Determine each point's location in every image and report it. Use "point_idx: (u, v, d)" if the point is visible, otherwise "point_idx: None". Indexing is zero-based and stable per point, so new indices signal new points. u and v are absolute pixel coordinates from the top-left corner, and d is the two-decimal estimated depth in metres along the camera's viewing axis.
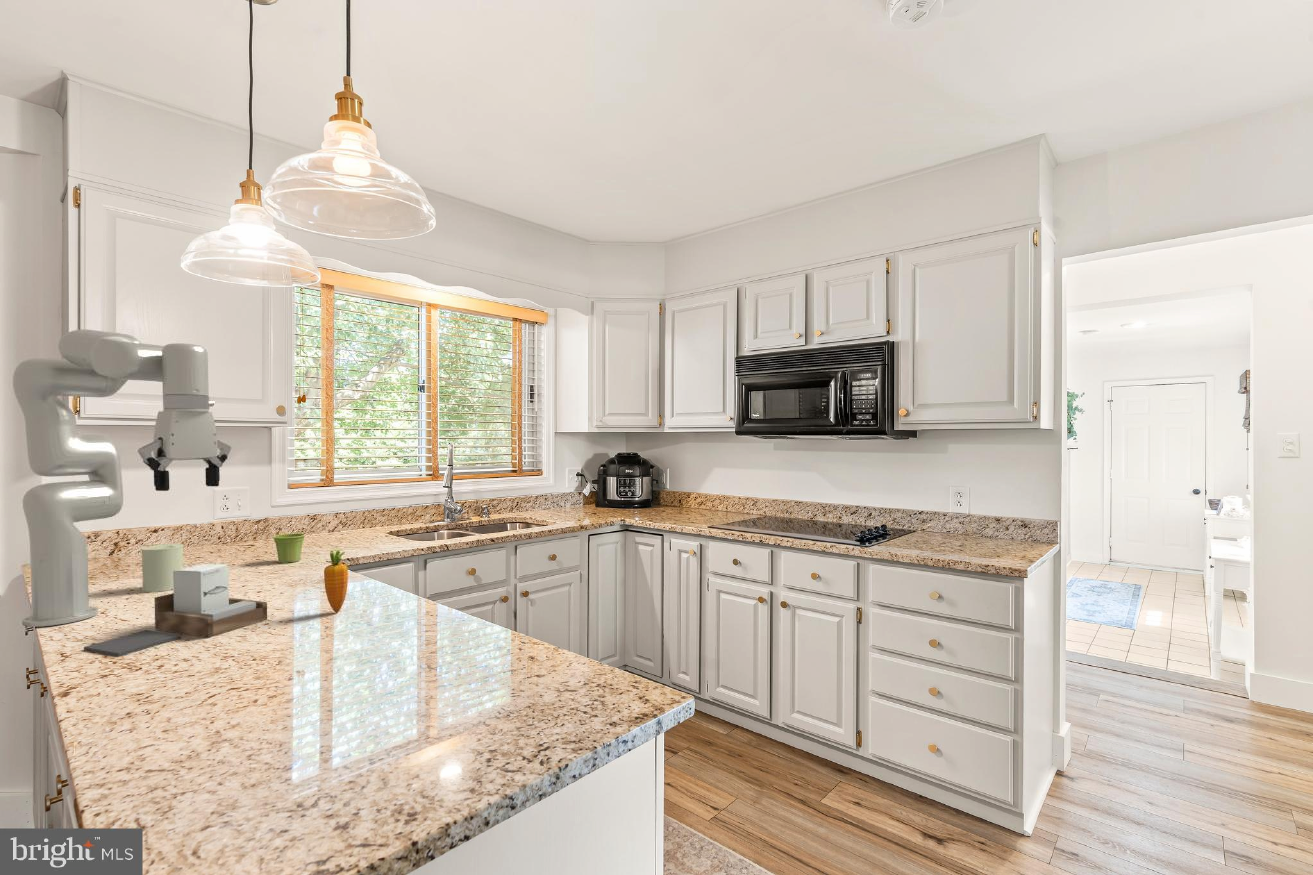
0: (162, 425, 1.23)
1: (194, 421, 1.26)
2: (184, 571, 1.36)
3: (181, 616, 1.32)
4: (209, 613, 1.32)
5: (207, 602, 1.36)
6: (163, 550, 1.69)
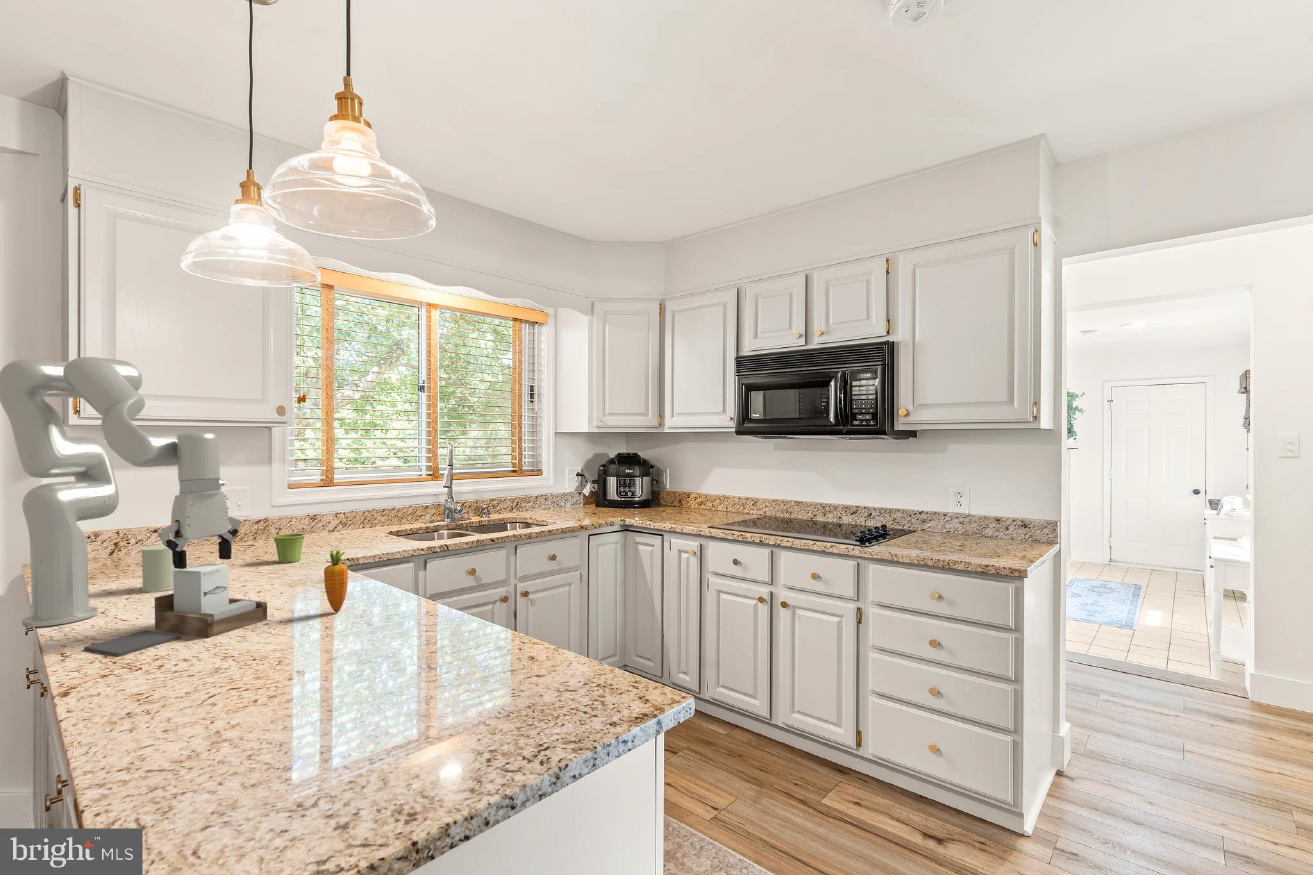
0: (179, 508, 1.34)
1: (207, 502, 1.38)
2: (184, 571, 1.36)
3: (181, 616, 1.32)
4: (210, 612, 1.32)
5: (207, 602, 1.36)
6: (163, 550, 1.69)
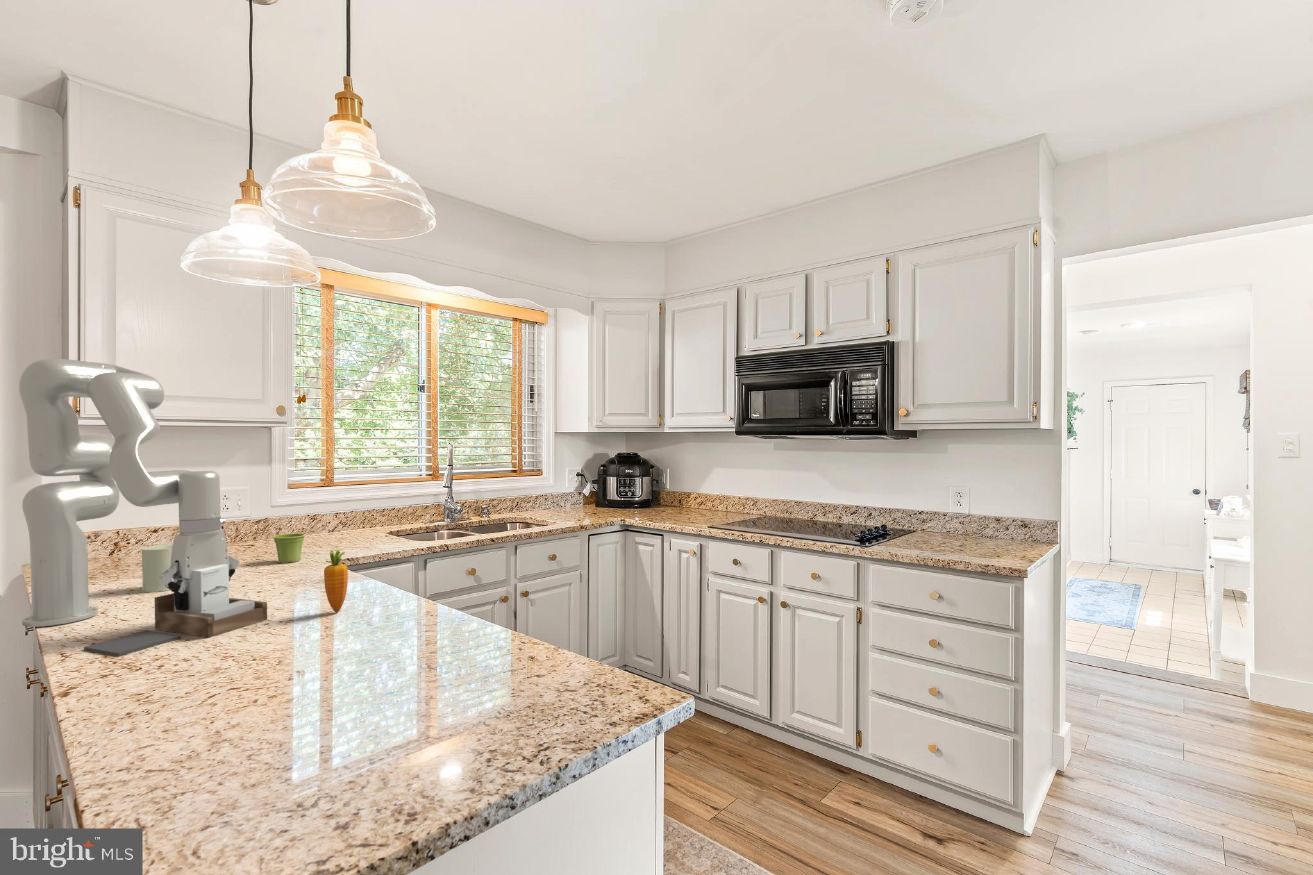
0: (179, 549, 1.34)
1: (207, 542, 1.38)
2: None
3: (181, 616, 1.32)
4: (210, 612, 1.32)
5: (207, 602, 1.36)
6: (163, 550, 1.69)
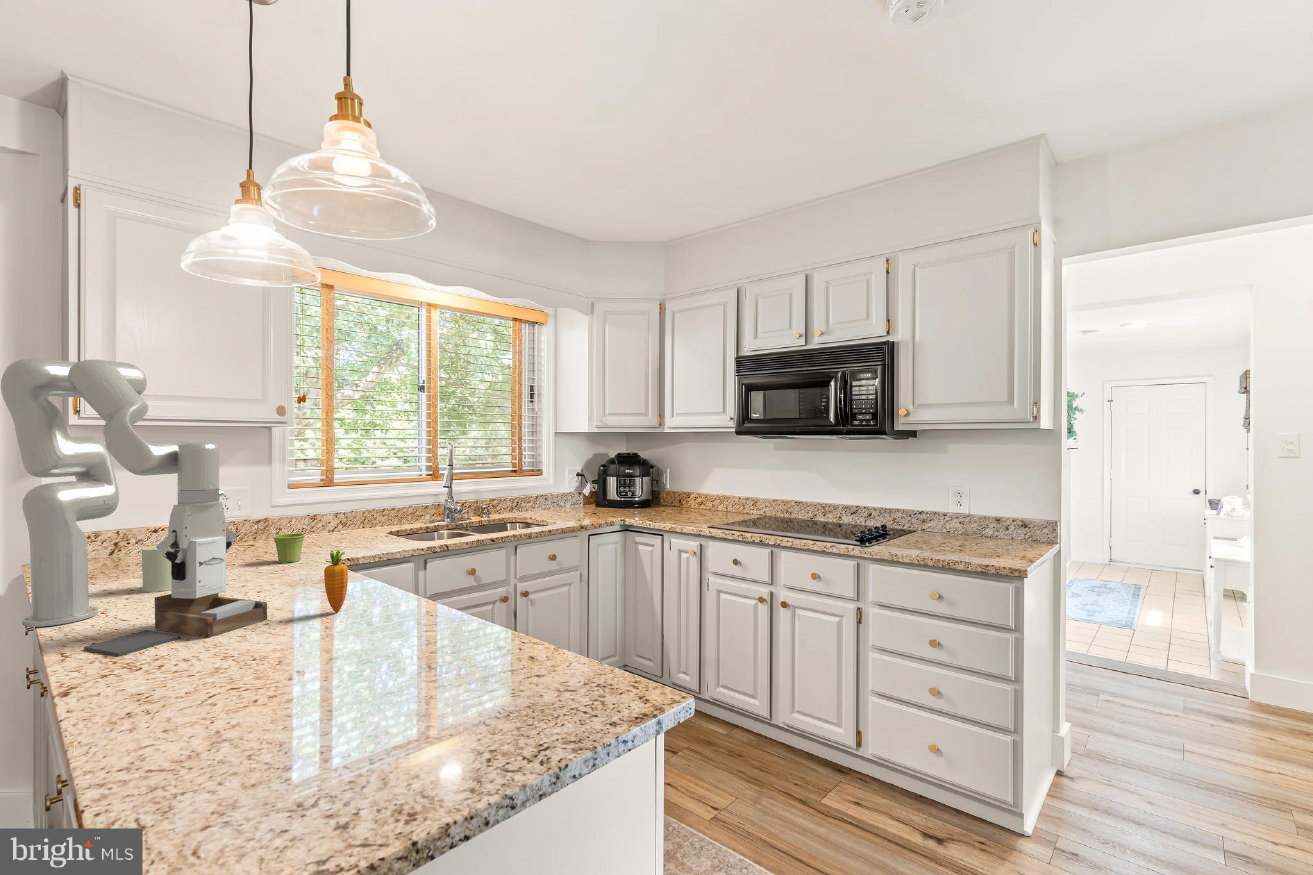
0: (176, 519, 1.34)
1: (205, 513, 1.38)
2: None
3: (181, 616, 1.32)
4: (212, 612, 1.32)
5: (202, 573, 1.36)
6: None
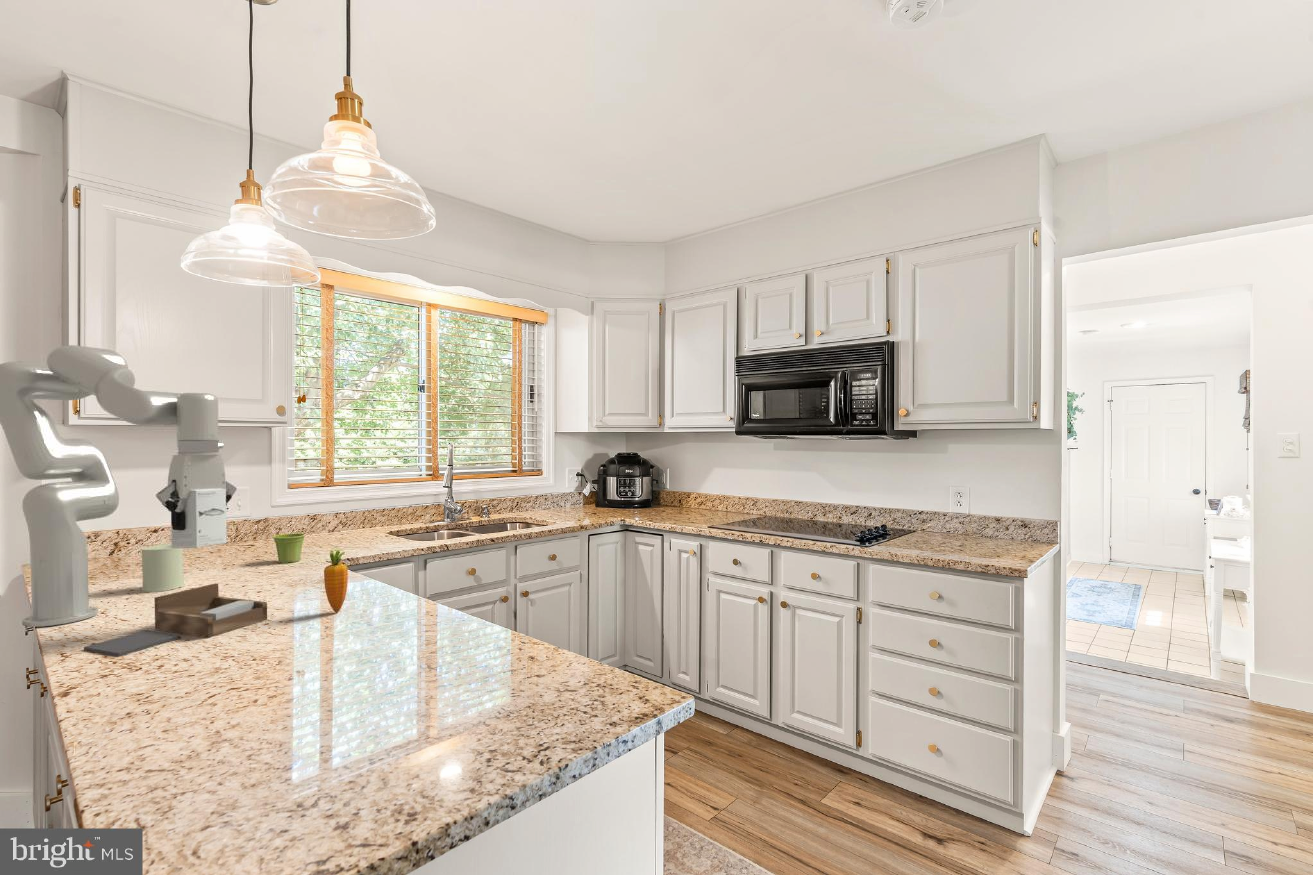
0: (176, 468, 1.34)
1: (205, 464, 1.38)
2: None
3: (181, 616, 1.32)
4: (211, 612, 1.32)
5: (203, 523, 1.36)
6: (163, 550, 1.69)
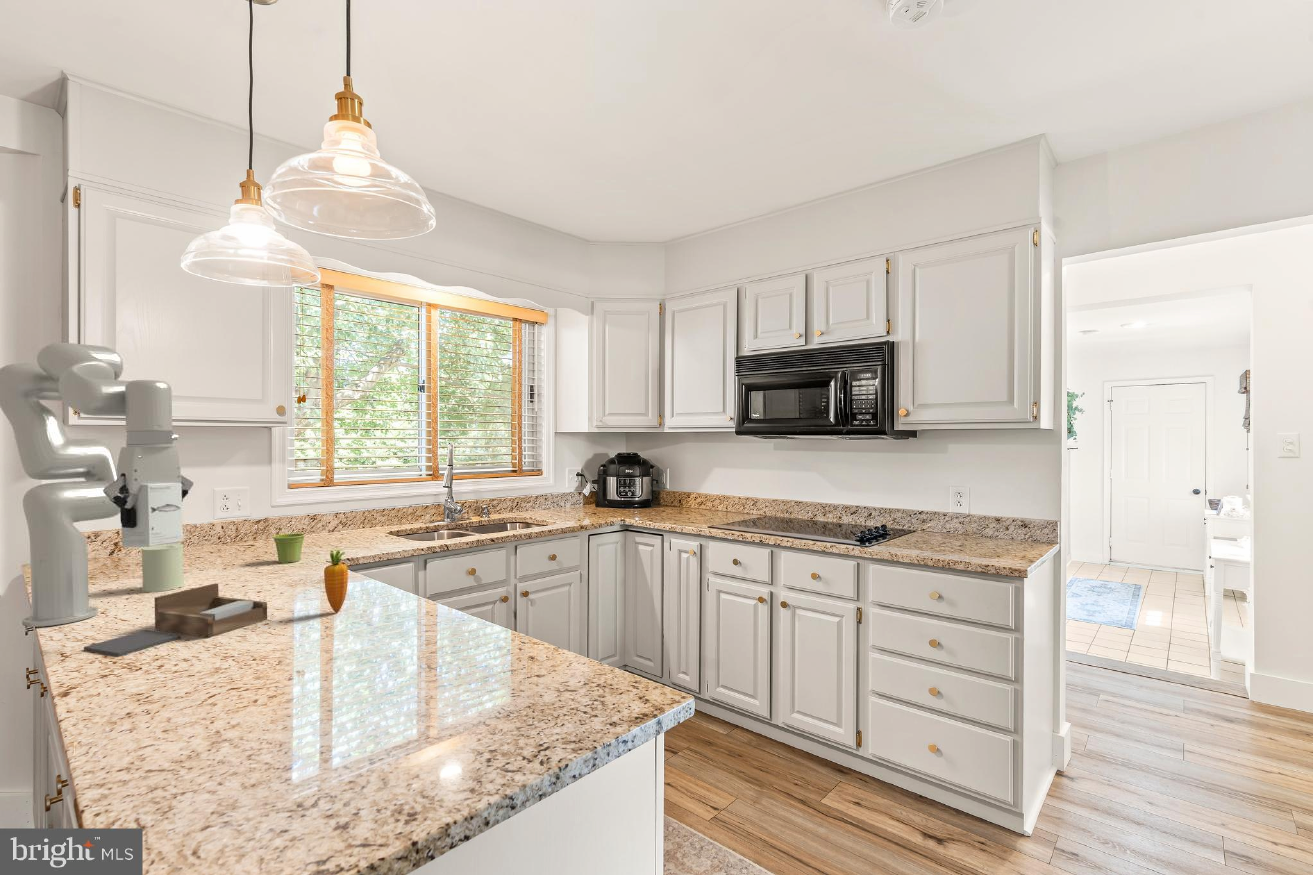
0: (125, 461, 1.24)
1: (157, 456, 1.28)
2: None
3: (181, 616, 1.32)
4: (210, 613, 1.32)
5: (156, 519, 1.26)
6: (163, 550, 1.69)
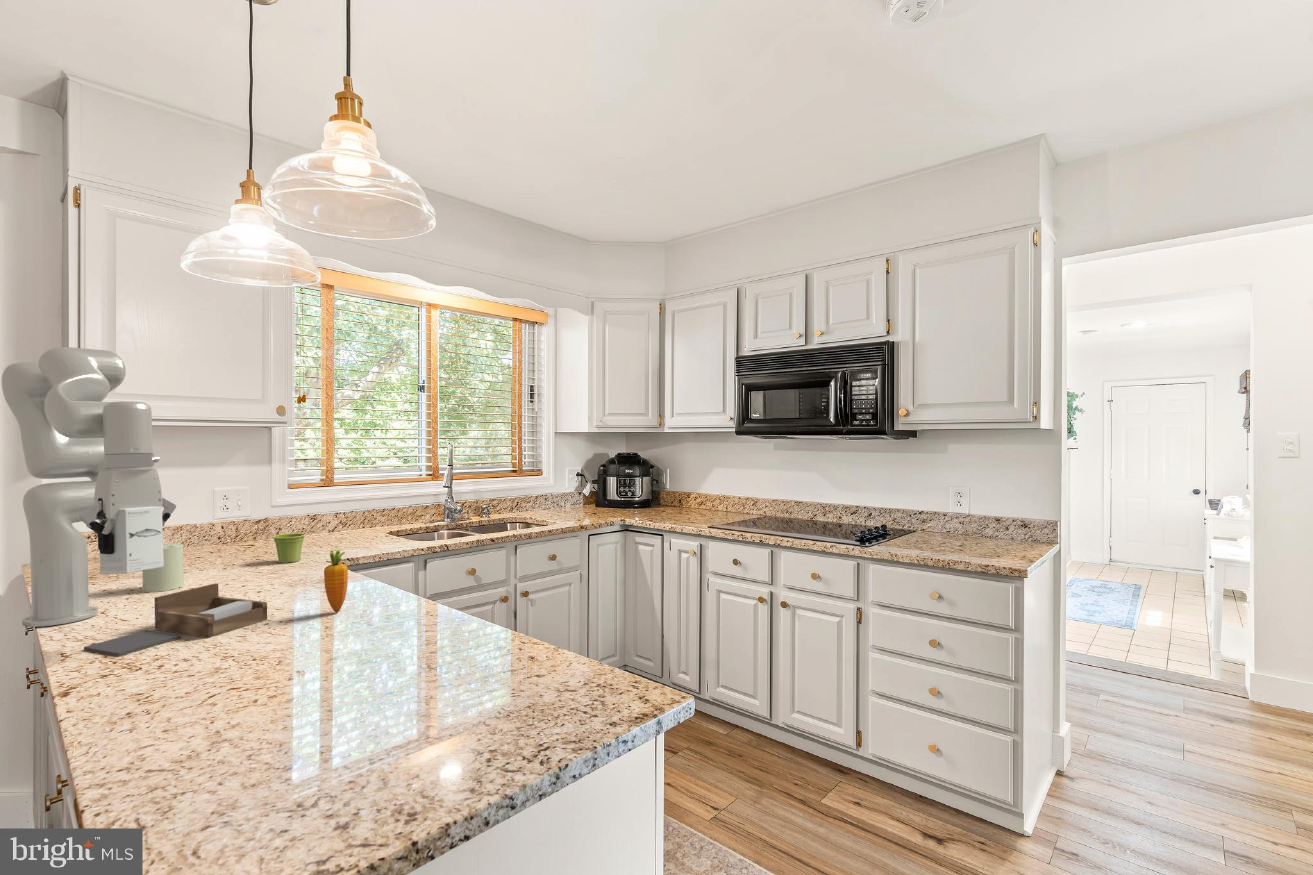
0: (102, 485, 1.21)
1: (136, 480, 1.24)
2: None
3: (181, 616, 1.32)
4: (209, 613, 1.32)
5: (134, 545, 1.23)
6: (163, 550, 1.69)
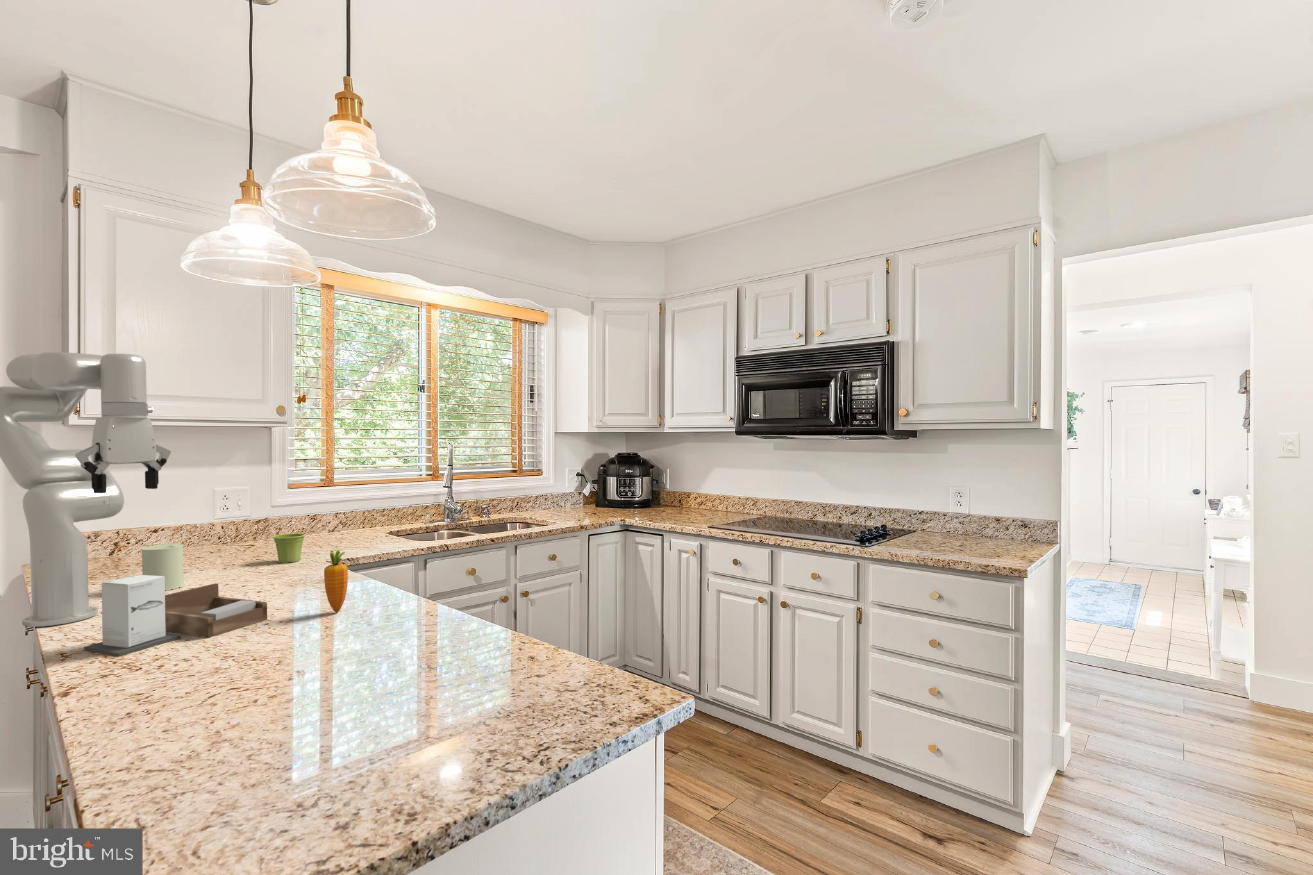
0: (99, 431, 1.30)
1: (131, 427, 1.33)
2: (112, 583, 1.22)
3: (181, 616, 1.32)
4: (211, 612, 1.32)
5: (136, 619, 1.23)
6: (163, 550, 1.69)
